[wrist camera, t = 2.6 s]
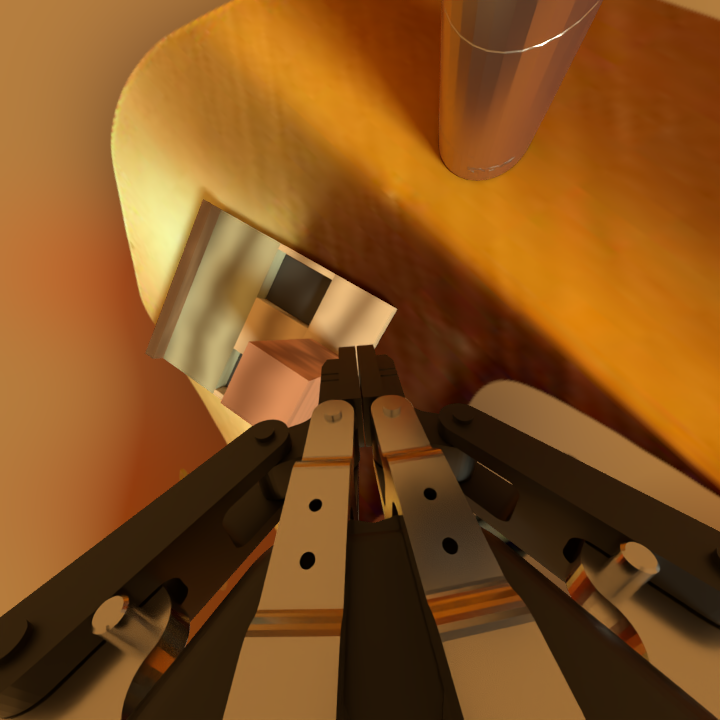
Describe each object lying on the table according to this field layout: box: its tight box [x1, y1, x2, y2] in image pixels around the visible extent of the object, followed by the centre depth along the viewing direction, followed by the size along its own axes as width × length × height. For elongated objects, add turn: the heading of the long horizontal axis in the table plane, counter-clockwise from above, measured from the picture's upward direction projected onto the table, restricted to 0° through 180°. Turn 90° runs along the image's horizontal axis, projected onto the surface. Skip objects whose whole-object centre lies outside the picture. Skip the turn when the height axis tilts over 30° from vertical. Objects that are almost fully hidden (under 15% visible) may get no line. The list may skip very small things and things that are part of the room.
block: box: [221, 338, 339, 428], centre depth 28 cm, size 6×6×12 cm
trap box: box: [146, 199, 397, 400], centre depth 36 cm, size 27×22×4 cm
